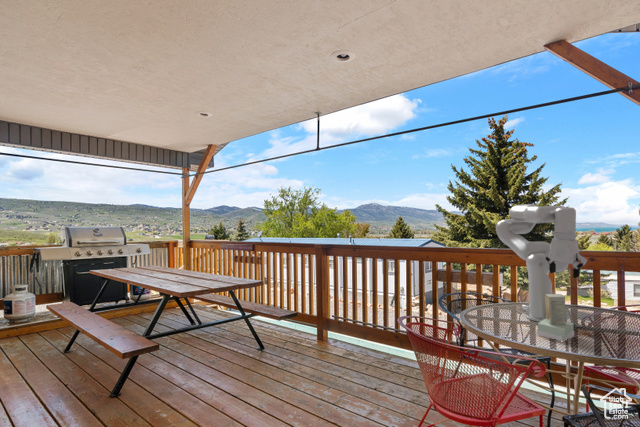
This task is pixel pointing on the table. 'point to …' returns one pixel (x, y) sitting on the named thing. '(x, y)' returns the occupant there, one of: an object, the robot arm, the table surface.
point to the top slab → (555, 328)
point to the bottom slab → (555, 335)
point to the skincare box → (555, 309)
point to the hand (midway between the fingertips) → (564, 274)
